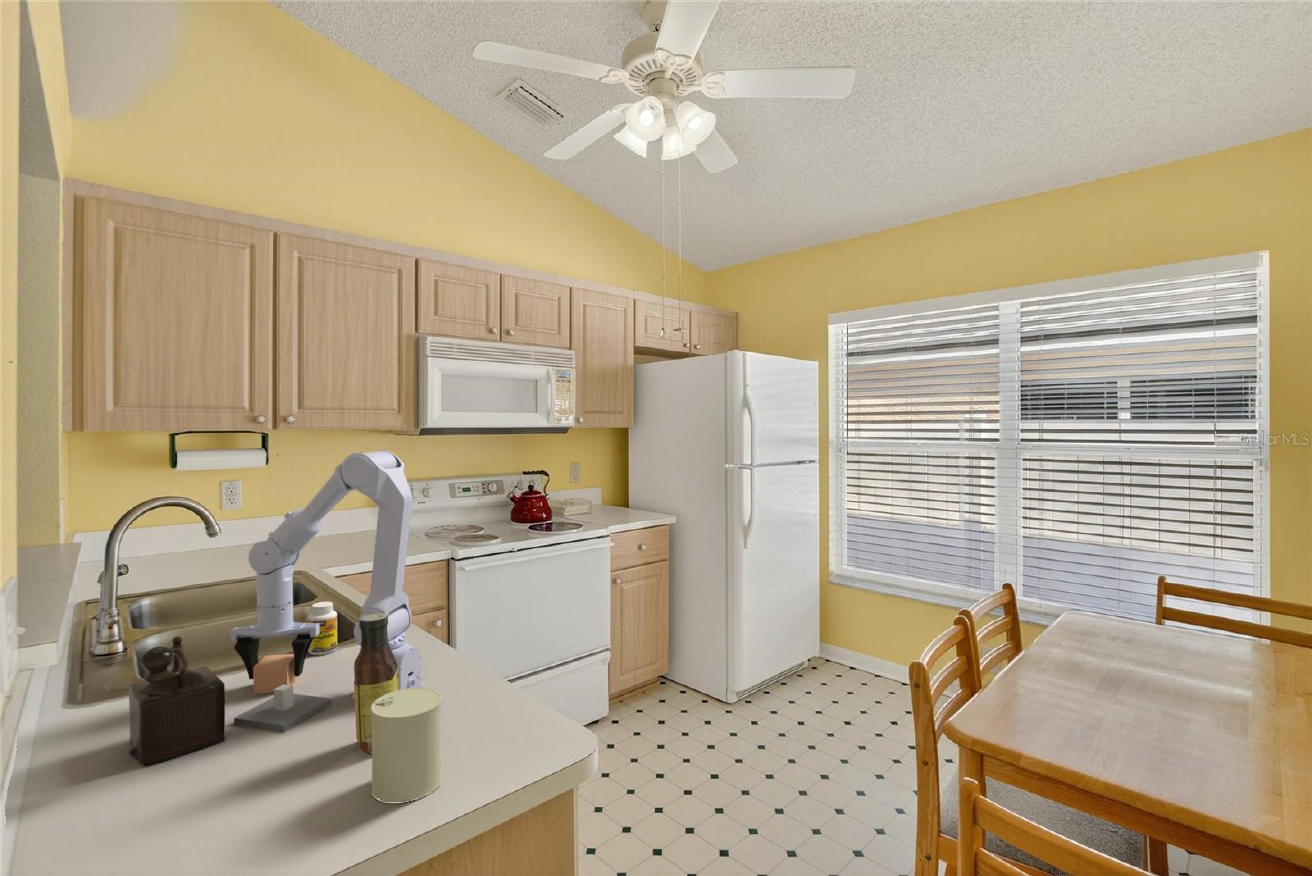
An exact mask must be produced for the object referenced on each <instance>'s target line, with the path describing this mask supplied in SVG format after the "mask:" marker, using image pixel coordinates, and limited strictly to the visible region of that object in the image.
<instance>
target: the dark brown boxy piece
mask: <svg viewBox="0 0 1312 876" xmlns="http://www.w3.org/2000/svg"><path fill="white" fill-rule="evenodd" d="M171 642H172V646H171V647H168V646H153V647H152V648H149V649H148V650H145V651H144V652H143V653H142V656H141V658H140V659H139V665H140V667H142V668H143V669H144V671H145V672H146V675H145V677H144V680H141V681H137V682H133V683H130V684H129V687H128V706H129V709H128V710H129V742H128V744H129V747H128V752H129V755H131V756H132V757H133V758H134V759H136V760H137V762H138V763H139V764H140V765H142V766H144V767H147V766H152V765H155V764H160V763H164V762H168V761H172V760H173V759H177V758H180V757H183V756H187V755H189V754H192V753H193V754H194V753H195V752H198V751H202V750H206V749H208V748H211V747H213V746H216V745H218V744H220V743H223V742H225V740H226V738H225V727H226V726H225V725H226V723H225V722H226V707H225V706H226V700H225V699H226V696H225V695H226V690H225V689H226V688H225V683H224V681H222V680H221V679H220V678H219V677H218V676H217V675H216V674H215V673H214V672H213V671H212V670H211V669H210V668H209V667H208V666H206V665H205V666H200V667H196V668H195V667H194V668H192V669H191V668H188V667H189V663H188V660H187V657H186V655H185V652H184V651H183V650H184V648H183V644H182V642H183V638H182V637H181V636H174V637H173V638H172V639H171ZM171 664H172V669H168V667H169V666H170V665H171Z"/></svg>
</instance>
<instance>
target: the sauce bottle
mask: <svg viewBox="0 0 1312 876" xmlns="http://www.w3.org/2000/svg"><path fill="white" fill-rule="evenodd" d="M359 618H360V617H359ZM359 618H358V620H359V627H360V629H361V646H360V649H359V650H360V651H359V653H358V655H357V656H356V658H355V660H354V663H353V664H354V665H353V673H354V674H353V675H354V681H353V689H354V693H353V694H355V699H354V708H355V709H354V711H355V713H354V714H355V734H356V735H355V736H356V741H357V742H356V744H357V747H358V749H359V751H361V750H362V751H361V752H363V753H367V752H369V753H370V752H372V727H371V711H370V708H371V705H372V703H373V702H374V701H375V700H377V699H378V698H380V697H381V696H383V695H386V694H388V693H391V692H394V691H398V690H399V685H398V665H397V662H396V660H395V657H394V655H393V653H392V650H391V648H390V645H389V643H388V636H387V635H388V634H387V625H388V616H387V614H384V613H376V614H369V615H365V616H363V617H361V618H360V619H359Z"/></svg>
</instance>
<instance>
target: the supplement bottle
mask: <svg viewBox="0 0 1312 876" xmlns="http://www.w3.org/2000/svg"><path fill="white" fill-rule="evenodd" d="M307 623H319V630H320V633H319V634H318V635H317V636H316V637H314V639H313V641H312V643H311V645H310V647H309V650H308V652H307V653H309V655H313V656H324V655H328V654H332V653H333V652H335V651H336V650H337V649H338V612H337V611H335V610H334V603H333V602H332V601H320V602H315V603H313V604H312V605H311V612H310V614H309V615H308V616H307Z"/></svg>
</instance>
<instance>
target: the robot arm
mask: <svg viewBox="0 0 1312 876" xmlns="http://www.w3.org/2000/svg"><path fill="white" fill-rule="evenodd" d="M352 491H357V492H358V493H360V494H362V495H364V496H366V497H368V498H369V499H370V500H372V502H373V503H374V504H375V505H377V507H378V511H377V512H378V514H377V521H376V522H377V523H376V524H377V525H376V533H375V534H376V535H375V541H374V542H375V544H374V551H373V553H374V554H373V564H372V572H371V582H370V592H369V594H368V596H367V597H366V600H365V601H364V603H363V604H362V606H361V610H360V615H359V618H358V620H357V621H356V623H355V624H354V628H353V635H354V639H355V642H356V643H357V644H358V645H359V646H360V647H361V629H360V627H359V619H360V618H361V617H363V616H365V615H369V614H376V613H384V614H387V616H388V625H387V634H388V635H387V636H388V643H389V645H390V648H391V650H392V653H393V655H394V657H395V660H396V662H397V665H398V685H399V690H402V689H409V688H424V687H423V686H424V683H422V681H421V680H422V679H421V676H422V675H421V654H420V653H421V652H420V651H419V649H418V648H417V647H415V646H413V645H410V644H409V643H407V641H406V637H407V636H406V631H407V630H408V629H409V628H410V626H411V624H412V622H413V621H412V619H413V615H412V612H411V608H410V604H409V602H410V597H409V596H408V595H407V593H405V592H404V581H405V571H406V562H407V561H406V559H407V552H408V551H407V550H408V542H409V532H410V523H411V514H412V505H413V494H412V491H411V489H410V486H409V483H408V481H407V478H406V475H405V463H404V462H403V461H402V460H401V459H400V458H399V456H397V455H396V454H395V453H393V452H392V451H390V450H386V449H381V450H378V451H371V452H354V453H351V454H349V455H347V456H346V457H345V458H344V459H343V461H342V462H341V463H339V464H338V465H337V466H336V467H335V469H334V471H333V473H332V475H331V476H330V477H329V479H328V480H327V481H326V482H325V483H324V485H322V487H321V489H319V491H318V492H317V493H316V494H315V496H313V498H312V499H311V500H310V501H309V503H308V504H307V505H306V507H305V508H296V509H294V510H291V511H287V512H286V513H285V514H284V516H283V518H284V520H283V521H282V522H281V524H279V526H278V527H277V528H276V529H275V530H271V531H270V532H269V533H268V535H267V536H268V537H267V539H266V540H261V541H258V542H256V543H254V544H253V545H252V548H250V550H249V552H248V563H249V565H250V567H251V569H252V570H253V571H255V572H256V612H257V613H256V615H257V619H256V620H257V624H255V625H248V626H239V627H238V626H236V627H235V626H234V628H232V629H231V630H229V641H230V642H236V643H235V644H234V650H235V652H236V654H238V656H239V657H240V659H241V660H242V662H243V664H244V666H245V668H246V672H247V674H248V678H249V680H254V679H253V667H254V666H255V665H256V664H257V663H258V662H259V648H260V641H261V639H271V638H272V639H274V638H290V637H295V639H293V640H292V641H291V646H292V652H293V654H294V675H295V676H299V677H300V676H301V675H302V673H303V672H304V666H305V661H306V657H307V654H308V653H309V652H308V650H309V647H310V645H311V643H312V641H313V639H314V637H316V636H317V635H318V634H319V633H320V630H319V623H308V622H307V623H306V622H298V621H297V622H296V621H294V593H293V590H294V588H293V583H294V582H293V579H294V578H293V575H294V572H295V565H296V563H297V562H298V561H299V560H300V555H301V551H302V550H303V548H304V547H306V545H307V544H308V543H310V541H311V540H312V539H313V538H314V537H315V536H316V535H317V534H318V533H319V532H320V531H321V529H322V521H321V520H322V519H323V518H324V517H325V516H326V515H327V514H328V513H329V512H330V511H331V510H332V509H334V507H335V506H336V505H337V504H339V503H340V502H341V501H342V500H343V499H344V498H345V497H346V496H347V495H348V494H349V493H350V492H352ZM351 698H352V699H353V700H355V694H354V693H353V694H352V695H351Z"/></svg>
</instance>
